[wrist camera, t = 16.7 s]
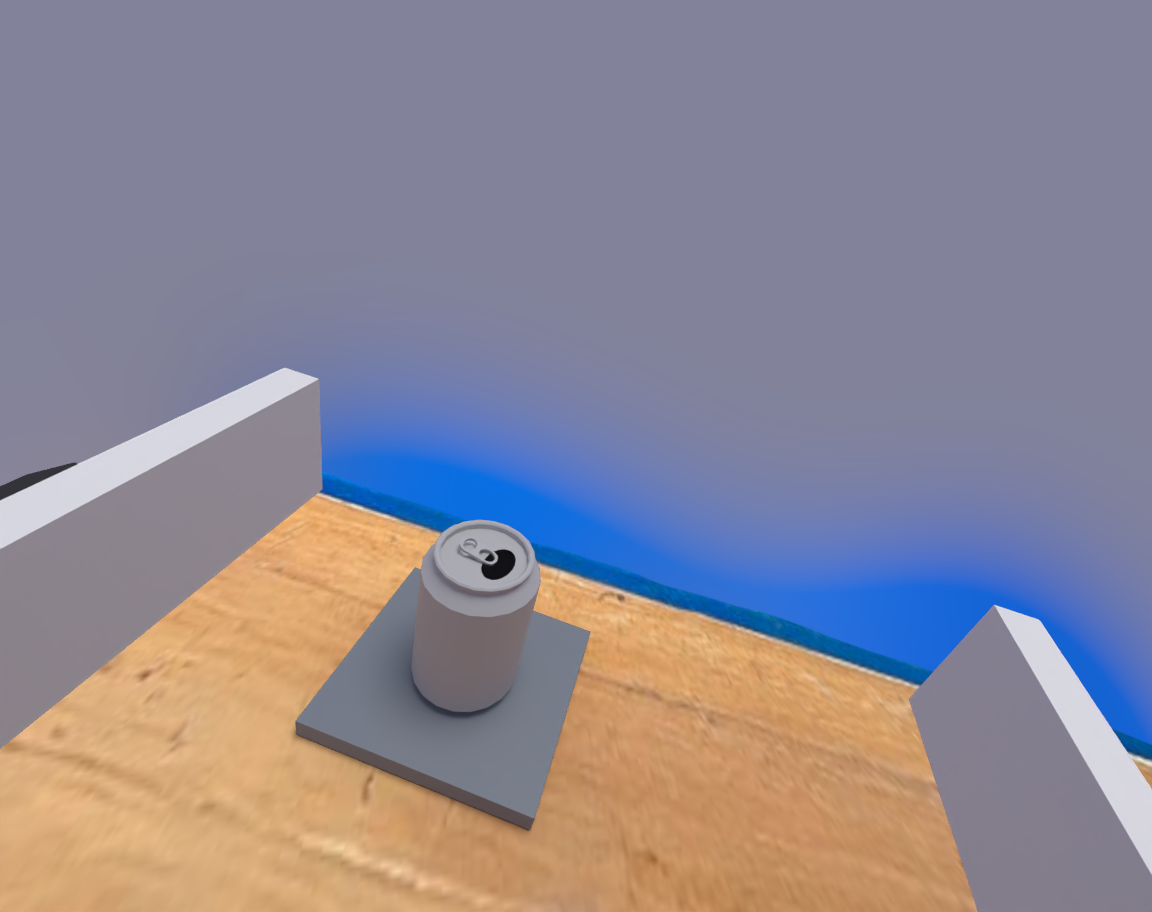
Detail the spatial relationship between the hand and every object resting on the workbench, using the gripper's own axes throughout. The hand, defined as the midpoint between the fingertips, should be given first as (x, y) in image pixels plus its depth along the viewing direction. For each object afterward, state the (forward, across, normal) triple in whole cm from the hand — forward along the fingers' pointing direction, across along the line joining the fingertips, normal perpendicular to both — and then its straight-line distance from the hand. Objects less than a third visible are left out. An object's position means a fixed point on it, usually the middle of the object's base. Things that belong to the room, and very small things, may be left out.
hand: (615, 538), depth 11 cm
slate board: (+16, -7, -30) cm, 35 cm away
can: (+16, -7, -29) cm, 33 cm away
